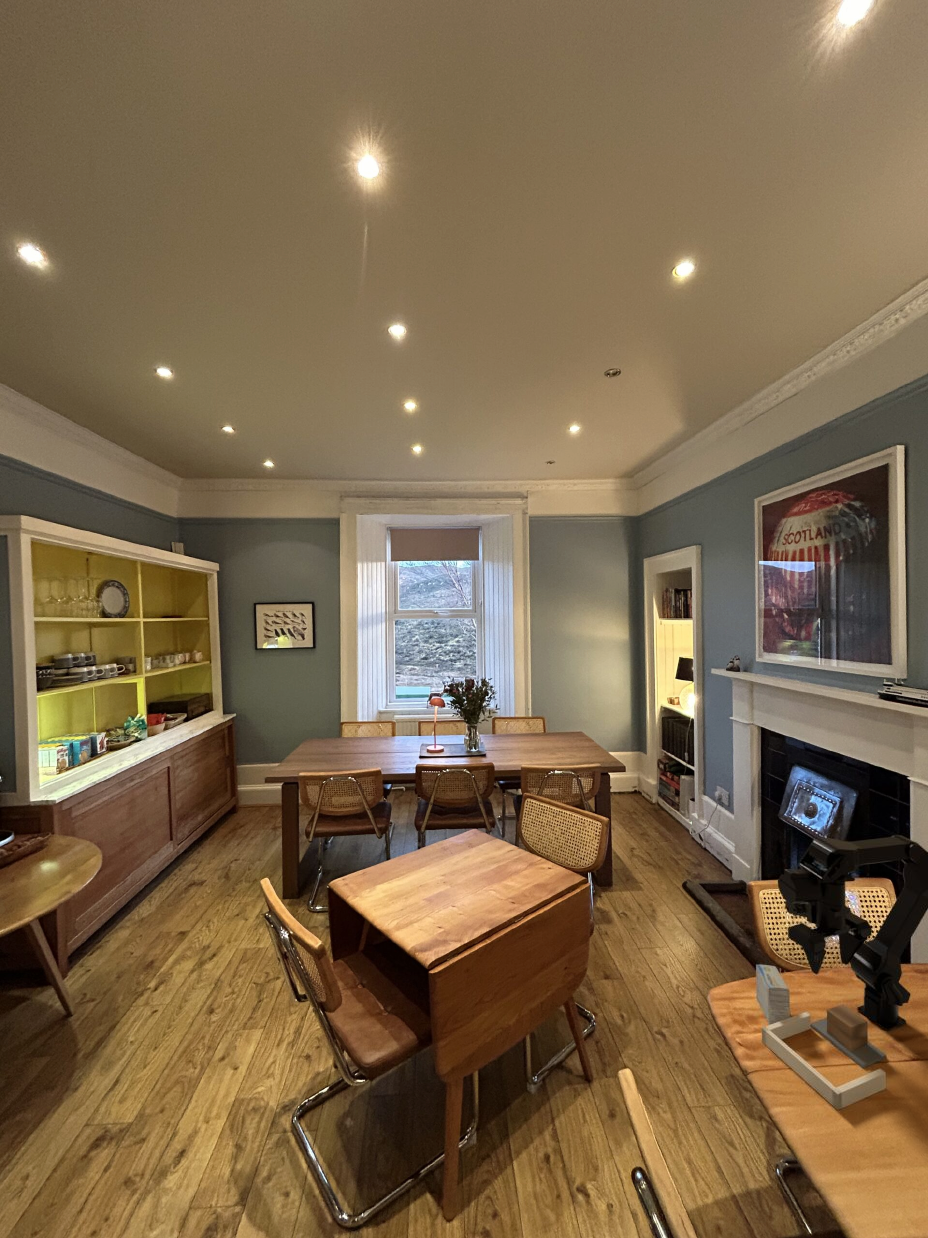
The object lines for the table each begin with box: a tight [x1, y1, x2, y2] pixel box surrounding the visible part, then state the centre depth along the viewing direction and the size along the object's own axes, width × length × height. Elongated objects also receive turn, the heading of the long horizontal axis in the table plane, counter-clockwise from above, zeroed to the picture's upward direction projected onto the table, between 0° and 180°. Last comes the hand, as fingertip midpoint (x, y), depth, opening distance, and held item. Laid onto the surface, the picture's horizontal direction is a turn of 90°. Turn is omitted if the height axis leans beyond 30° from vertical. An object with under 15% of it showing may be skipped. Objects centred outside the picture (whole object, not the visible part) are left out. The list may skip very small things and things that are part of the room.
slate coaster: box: [811, 1017, 887, 1069], centre depth 109 cm, size 7×11×1 cm, turn 19°
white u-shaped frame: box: [761, 1011, 887, 1111], centre depth 104 cm, size 13×16×3 cm
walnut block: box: [826, 1003, 869, 1051], centre depth 109 cm, size 5×5×5 cm
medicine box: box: [755, 964, 791, 1025], centre depth 117 cm, size 8×4×9 cm, turn 168°
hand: (829, 968), depth 114 cm, fingers open, 9 cm apart
